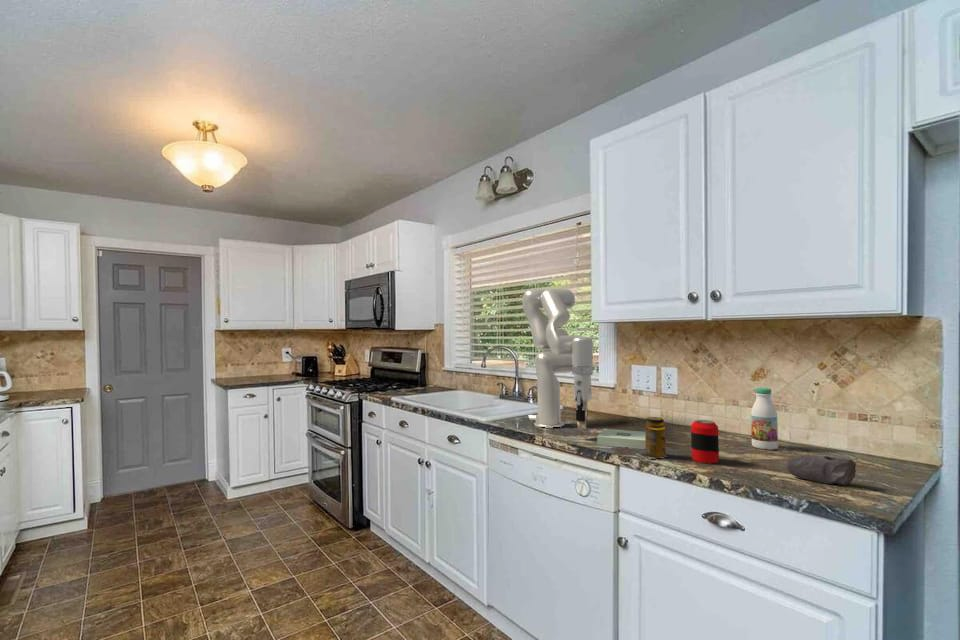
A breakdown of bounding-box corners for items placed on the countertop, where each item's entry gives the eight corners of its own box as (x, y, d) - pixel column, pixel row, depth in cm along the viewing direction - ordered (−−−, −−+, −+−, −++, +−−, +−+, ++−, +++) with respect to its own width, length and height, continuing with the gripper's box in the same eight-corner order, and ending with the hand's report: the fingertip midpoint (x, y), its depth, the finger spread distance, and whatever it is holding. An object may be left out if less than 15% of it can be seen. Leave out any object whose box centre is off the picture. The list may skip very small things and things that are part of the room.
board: (597, 445, 166) (597, 436, 166) (604, 436, 178) (603, 428, 178) (645, 449, 159) (645, 440, 159) (648, 440, 172) (648, 432, 172)
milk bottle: (751, 443, 165) (750, 386, 165) (777, 446, 161) (776, 387, 161) (751, 448, 158) (750, 389, 159) (778, 451, 154) (777, 390, 155)
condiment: (671, 457, 149) (671, 419, 149) (652, 460, 145) (651, 421, 146) (654, 452, 156) (653, 415, 156) (634, 455, 152) (634, 417, 152)
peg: (575, 428, 174) (575, 401, 174) (577, 426, 177) (577, 400, 177) (585, 429, 172) (586, 402, 172) (588, 427, 176) (588, 400, 176)
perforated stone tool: (784, 478, 127) (783, 452, 127) (788, 473, 131) (787, 448, 131) (855, 490, 117) (854, 462, 117) (857, 485, 120) (856, 458, 121)
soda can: (686, 459, 147) (685, 420, 147) (704, 456, 149) (703, 418, 150) (705, 465, 140) (704, 424, 140) (724, 462, 142) (723, 422, 143)
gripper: (588, 373, 165) (587, 425, 166) (596, 368, 180) (596, 416, 181) (566, 372, 168) (566, 423, 169) (577, 367, 184) (576, 414, 184)
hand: (581, 419), depth 175 cm, fingers closed on peg, 3 cm apart
